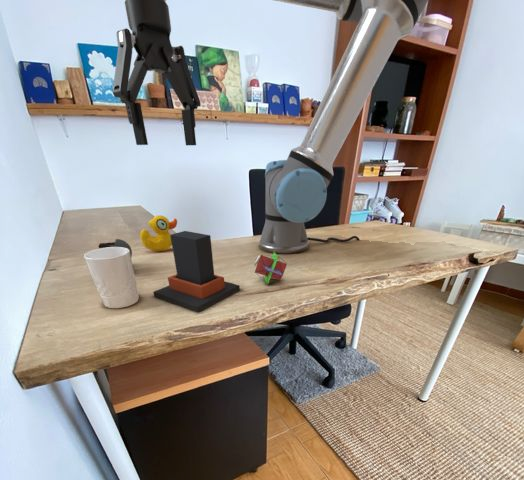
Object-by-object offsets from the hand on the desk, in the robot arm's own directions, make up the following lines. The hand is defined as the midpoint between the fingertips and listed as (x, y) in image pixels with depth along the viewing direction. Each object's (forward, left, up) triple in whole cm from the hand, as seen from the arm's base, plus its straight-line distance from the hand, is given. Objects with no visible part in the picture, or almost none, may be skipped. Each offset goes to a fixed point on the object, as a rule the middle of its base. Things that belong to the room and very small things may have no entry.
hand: (168, 145), depth 64 cm
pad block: (-3, +20, -26) cm, 33 cm away
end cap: (+17, +1, -27) cm, 32 cm away
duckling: (+8, -16, -27) cm, 32 cm away
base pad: (-3, +20, -27) cm, 34 cm away
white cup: (+13, +21, -27) cm, 36 cm away
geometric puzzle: (-20, +16, -27) cm, 37 cm away
